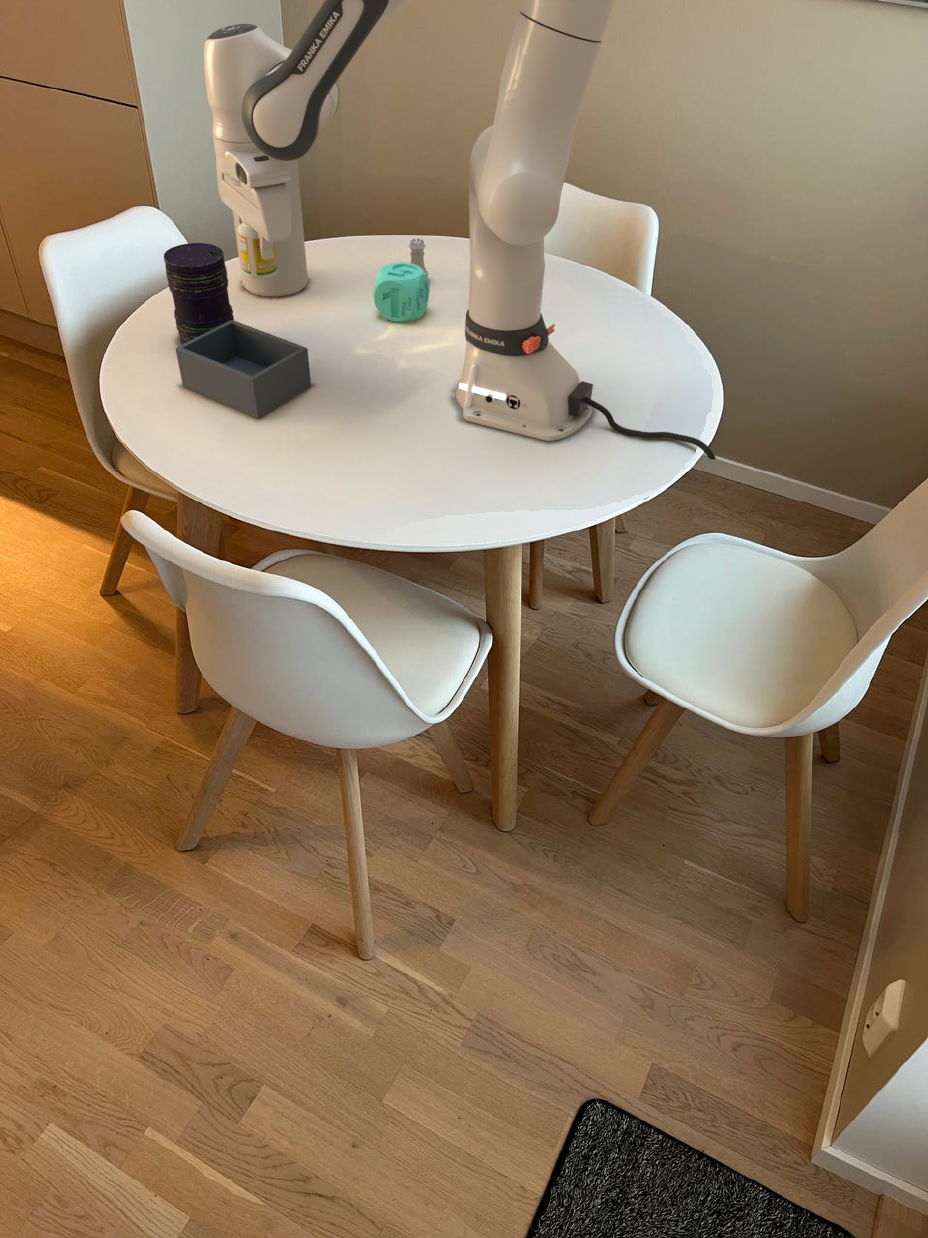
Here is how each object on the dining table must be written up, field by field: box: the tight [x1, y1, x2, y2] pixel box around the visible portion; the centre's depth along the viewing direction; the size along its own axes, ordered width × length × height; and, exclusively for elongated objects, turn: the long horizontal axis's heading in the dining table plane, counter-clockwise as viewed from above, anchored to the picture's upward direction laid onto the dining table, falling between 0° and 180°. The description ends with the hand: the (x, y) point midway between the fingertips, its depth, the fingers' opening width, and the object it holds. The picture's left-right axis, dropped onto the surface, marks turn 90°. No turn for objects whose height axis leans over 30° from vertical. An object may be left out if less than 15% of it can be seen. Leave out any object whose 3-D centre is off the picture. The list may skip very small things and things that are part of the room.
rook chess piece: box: [408, 237, 429, 277], centre depth 180 cm, size 4×4×8 cm
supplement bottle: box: [238, 213, 277, 279], centre depth 144 cm, size 5×5×10 cm
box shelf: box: [174, 319, 312, 419], centre depth 149 cm, size 17×13×7 cm
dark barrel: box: [163, 242, 235, 345], centre depth 158 cm, size 10×10×15 cm
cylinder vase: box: [232, 159, 309, 298], centre depth 172 cm, size 12×12×25 cm
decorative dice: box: [373, 261, 431, 323], centre depth 170 cm, size 8×8×8 cm
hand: (258, 250), depth 144 cm, fingers closed on supplement bottle, 5 cm apart
